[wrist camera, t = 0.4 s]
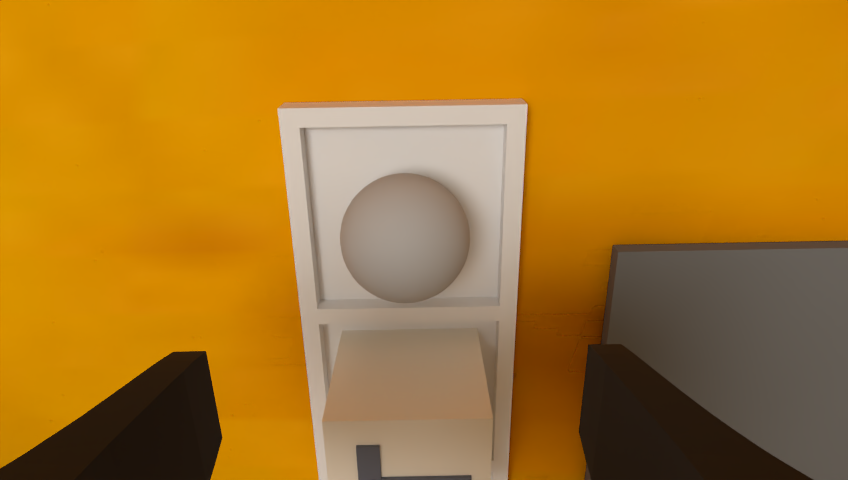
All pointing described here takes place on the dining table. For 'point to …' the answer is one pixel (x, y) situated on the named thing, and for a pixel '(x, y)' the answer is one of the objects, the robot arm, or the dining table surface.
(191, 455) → the robot arm
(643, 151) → the dining table surface
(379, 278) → the grey ball
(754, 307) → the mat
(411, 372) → the letter cube
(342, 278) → the sorting tray
